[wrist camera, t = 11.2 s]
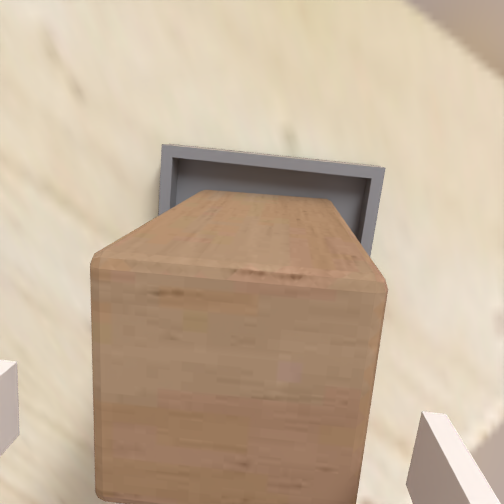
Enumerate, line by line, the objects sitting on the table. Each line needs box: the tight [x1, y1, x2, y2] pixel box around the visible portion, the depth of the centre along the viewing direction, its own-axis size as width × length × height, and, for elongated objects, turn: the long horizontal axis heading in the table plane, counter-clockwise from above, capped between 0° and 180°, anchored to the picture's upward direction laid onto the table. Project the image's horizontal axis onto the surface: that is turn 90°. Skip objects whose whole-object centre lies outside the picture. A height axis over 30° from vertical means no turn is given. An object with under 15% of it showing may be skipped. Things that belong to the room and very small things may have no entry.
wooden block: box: [90, 190, 388, 504], centre depth 25 cm, size 10×10×20 cm
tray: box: [158, 144, 385, 257], centre depth 34 cm, size 16×16×2 cm
